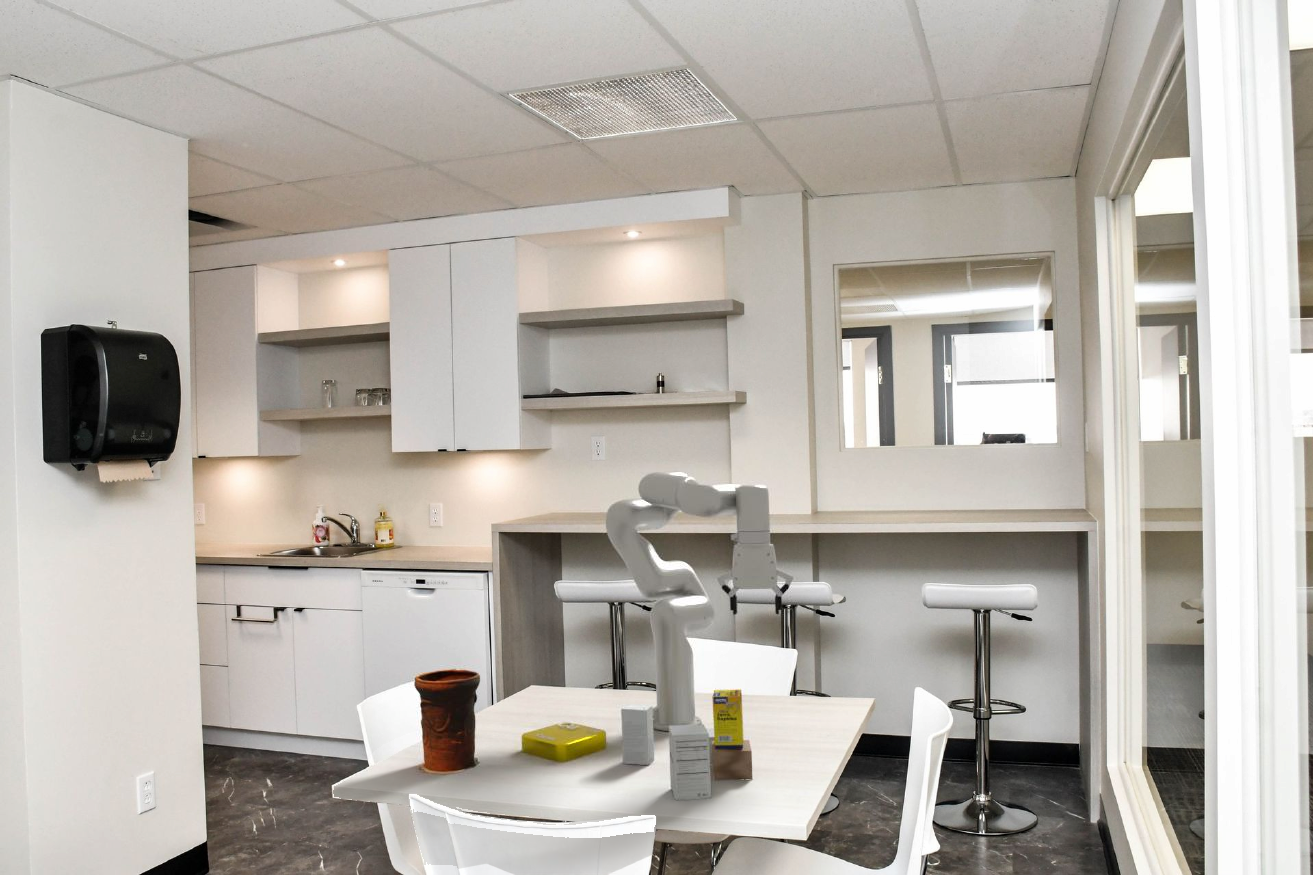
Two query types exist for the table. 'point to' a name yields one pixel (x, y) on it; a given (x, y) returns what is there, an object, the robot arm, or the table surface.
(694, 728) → the supplement box
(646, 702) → the table surface
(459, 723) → the vessel
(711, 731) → the grey block
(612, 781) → the table surface
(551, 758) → the element tile
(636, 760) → the skincare box
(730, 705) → the supplement box
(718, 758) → the walnut block
